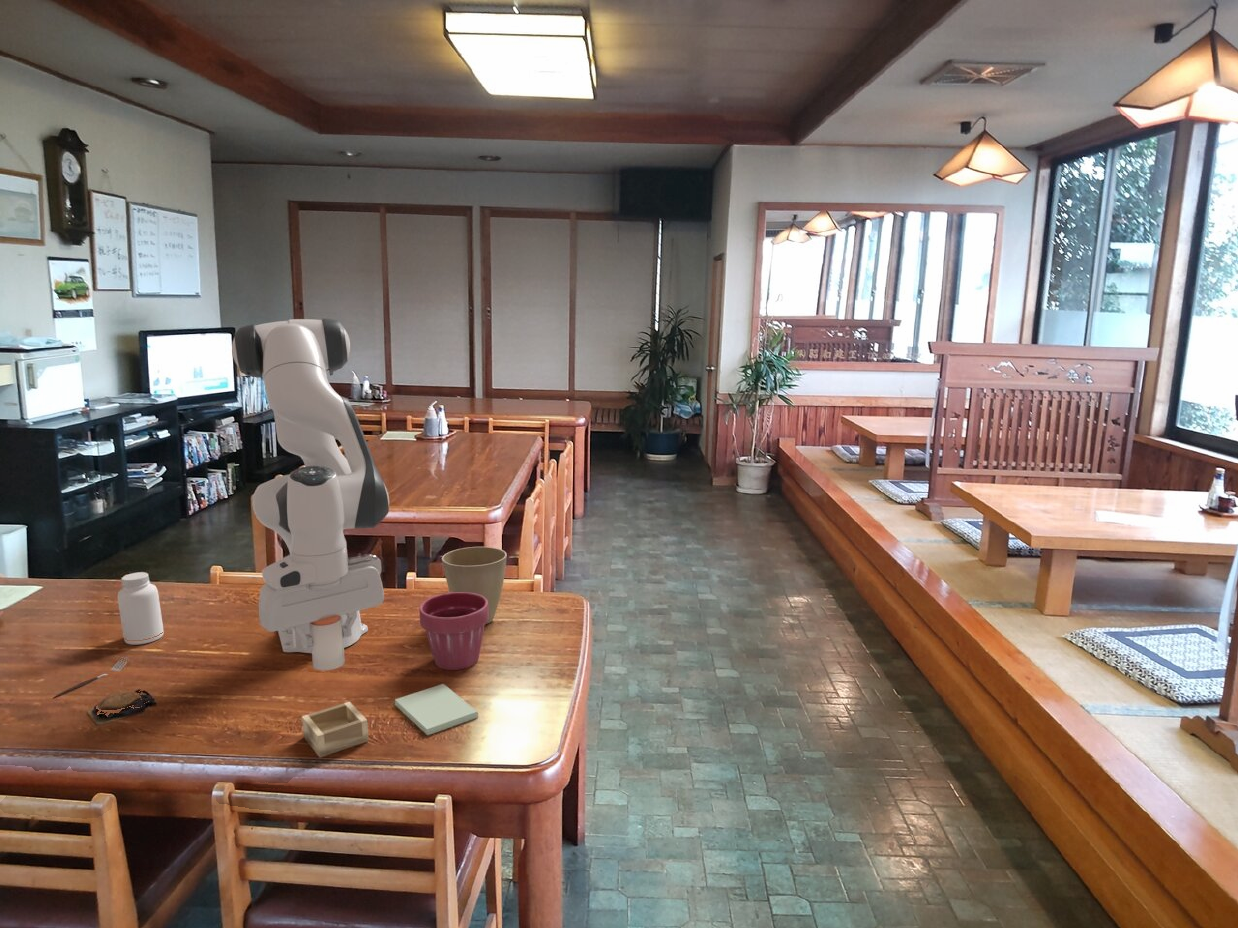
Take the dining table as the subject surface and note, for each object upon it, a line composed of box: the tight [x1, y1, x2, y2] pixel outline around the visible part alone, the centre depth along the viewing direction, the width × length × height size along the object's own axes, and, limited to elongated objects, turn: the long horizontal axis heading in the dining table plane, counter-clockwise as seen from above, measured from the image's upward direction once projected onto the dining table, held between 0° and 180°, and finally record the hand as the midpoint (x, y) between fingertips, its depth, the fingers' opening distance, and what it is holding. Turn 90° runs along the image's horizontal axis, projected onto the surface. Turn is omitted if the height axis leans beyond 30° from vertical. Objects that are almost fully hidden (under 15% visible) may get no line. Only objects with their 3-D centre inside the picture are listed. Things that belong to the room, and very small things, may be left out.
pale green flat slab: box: [394, 683, 479, 736], centre depth 156 cm, size 14×10×1 cm
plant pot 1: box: [441, 546, 508, 625], centre depth 197 cm, size 15×15×16 cm
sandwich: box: [87, 688, 158, 726], centre depth 158 cm, size 11×8×4 cm
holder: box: [301, 701, 370, 759], centre depth 146 cm, size 8×8×4 cm
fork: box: [53, 656, 130, 699], centre depth 170 cm, size 3×16×2 cm, turn 159°
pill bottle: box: [116, 571, 164, 646], centre depth 189 cm, size 8×8×15 cm
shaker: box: [309, 615, 346, 671], centre depth 143 cm, size 5×5×9 cm
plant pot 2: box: [419, 592, 489, 671], centre depth 175 cm, size 14×14×13 cm
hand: (326, 641), depth 143 cm, fingers closed on shaker, 5 cm apart
